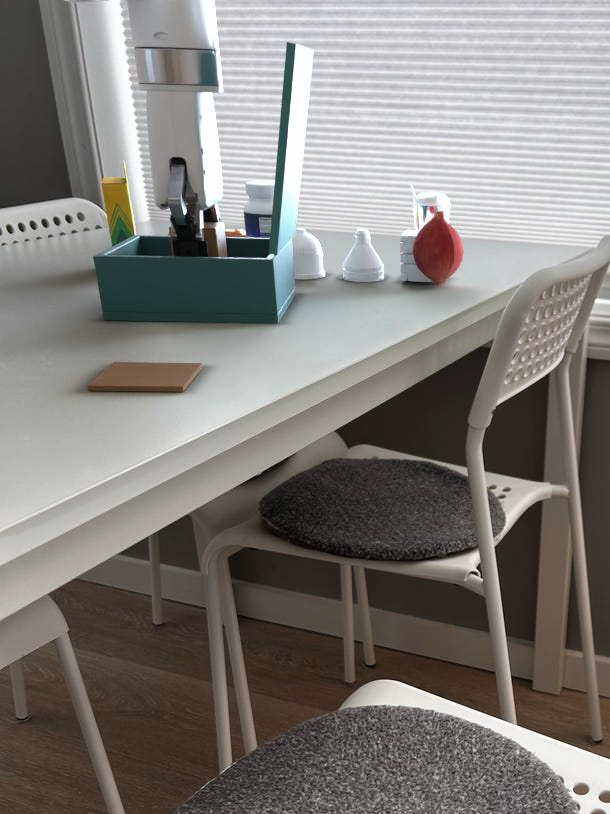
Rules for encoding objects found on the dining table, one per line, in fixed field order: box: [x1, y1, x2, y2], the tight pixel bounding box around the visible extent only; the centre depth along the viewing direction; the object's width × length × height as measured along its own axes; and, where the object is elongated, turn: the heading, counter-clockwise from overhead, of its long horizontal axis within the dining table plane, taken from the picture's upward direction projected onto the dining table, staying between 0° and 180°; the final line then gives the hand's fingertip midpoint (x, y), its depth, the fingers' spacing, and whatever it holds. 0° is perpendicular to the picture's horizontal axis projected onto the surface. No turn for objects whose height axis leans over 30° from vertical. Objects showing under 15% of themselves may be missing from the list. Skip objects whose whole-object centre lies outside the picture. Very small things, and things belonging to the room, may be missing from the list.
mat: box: [86, 361, 203, 393], centre depth 73 cm, size 7×7×1 cm
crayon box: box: [101, 160, 137, 247], centre depth 114 cm, size 7×3×12 cm, turn 18°
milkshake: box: [409, 184, 451, 230], centre depth 117 cm, size 4×5×10 cm
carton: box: [168, 222, 228, 257], centre depth 95 cm, size 4×4×7 cm
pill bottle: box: [243, 179, 275, 238], centre depth 114 cm, size 6×6×10 cm
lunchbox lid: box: [269, 41, 314, 255], centre depth 91 cm, size 17×15×1 cm
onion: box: [413, 211, 465, 286], centre depth 109 cm, size 6×6×8 cm
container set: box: [292, 227, 433, 283], centre depth 113 cm, size 20×5×6 cm, turn 85°
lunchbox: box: [92, 234, 297, 324], centre depth 96 cm, size 17×15×6 cm
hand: (203, 275), depth 96 cm, fingers open, 7 cm apart
